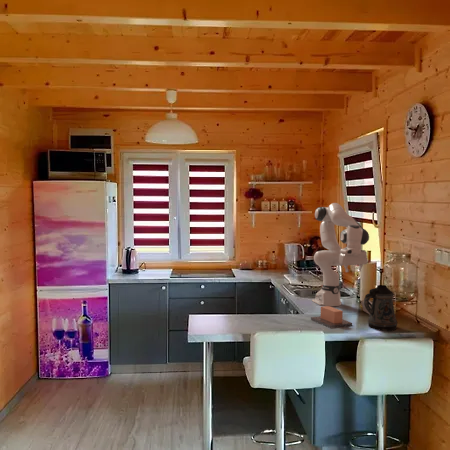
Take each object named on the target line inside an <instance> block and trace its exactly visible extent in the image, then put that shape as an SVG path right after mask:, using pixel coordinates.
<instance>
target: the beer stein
mask: <svg viewBox="0 0 450 450" xmlns="http://www.w3.org/2000/svg"><path fill="white" fill-rule="evenodd" d="M394 295H395V294H394V292H393V291H392V290H390V289H389V288H388V286H387V285H385V284H378V285H377V287H375V288H371V289H369V292H368V293H367V294H365V296H364V299H363V301H364V305H365V308H366V309H367V311H368V312H369V313H370V315H369V316H368V317H369V318H368V320H367V323H368V327H369V328H370V329H372V330H376V331H381V332H391V331H392V330H393V331H396V330H395V329H397V328H398V327H397V326H398V321H397V318H396V314H395V309H394V307H395V306H394V300H393V298H394ZM371 299H372V300H371ZM369 301H371V302H372V306H371V308H370V306H369ZM393 331H392V332H393Z"/></svg>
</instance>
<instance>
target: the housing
mask: <svg viewBox="0 0 450 450" xmlns="http://www.w3.org/2000/svg"><path fill="white" fill-rule="evenodd" d="M343 313H344V311H343V310H341V309H338V308H336V307H334V306H325V305H323V306H320V316H321V317H320V316H319V317H320V318H322V319H325V320H327V321H329V322H332V323H342V319H344V318H343V315H344V314H343Z"/></svg>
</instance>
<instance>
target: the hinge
mask: <svg viewBox="0 0 450 450" xmlns="http://www.w3.org/2000/svg"><path fill="white" fill-rule="evenodd" d="M360 304H361V307H362V310H363V312H365V313H366V314H368V315H369V316H370V313H369V312H368V311H367V309H366V308H365V305H364V300H362V301H360ZM369 306H370V308H371V306H372V300H369Z"/></svg>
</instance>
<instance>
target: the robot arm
mask: <svg viewBox="0 0 450 450" xmlns="http://www.w3.org/2000/svg"><path fill="white" fill-rule="evenodd" d="M314 218H315V220H316V221H318V222H321V223H320V225H319V233H320V241H321V245H322V247H323V248H325V249H327V250H325V249H324V250H318V251H316V252H315V253H314V254H313V261H314V263H315V264H316V265H317V266H318V267H319V269H320V270H321V272H322V276H323V277H322V281H323V282H322V284H321V288H320V290H318V291H317V292H316V294H315V298H313V299H312V300H311V301H312V302H313V303H315V304H317V305H319V306H330V307H338V306H341V305H342V304H343V303H342V301H341V292H340V289H341V288H340V274H339V273H338V272H337V271H335V270H334V269H332V267H334V266H335V267H337V266H338V267H339V266H341V267H342V266H343V267H344V269H345V273H349V272H350V269H349V268H348V267H349V266H357V265H358V268H357V269H356V271H357V272H362V268H363V266H364V265H367V264H368V253H367V252H368V251H367V250H365V249H362V245H364V246H365V245H366V244H367V243H368V242H369V240H370V234H369V232H368V231H367V230H366V229H365V228H363V227H362V225H361V224H360V223H359V222H358V221H357V220H356V219H355V218H354V217H353V216H351V215H350V214H349V213H347V212H346V211H345V209H344V208H343V206H342V205H341V204H340V203H338V202H332V203H331V204H329V205H328V206H327V207H326V206H319V207H317V208H316V209H315V212H314ZM335 226H338V227H344V228H346V229H343V230H342V231H341V232H340V234H339V240H340V242H341V243H342V244H344V245H346V247H341V246H340V244H339V242H338V239H337V234H336V233H337V232H336V229H335Z"/></svg>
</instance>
